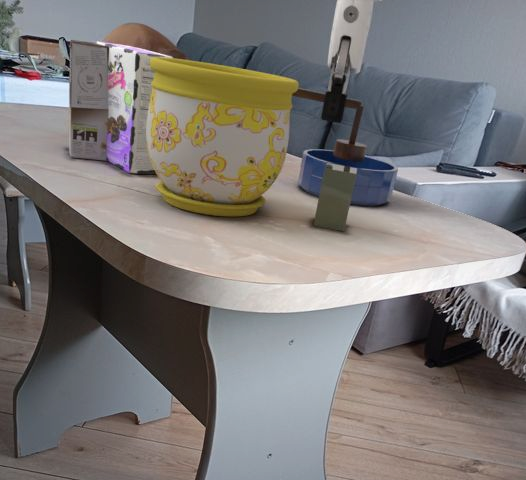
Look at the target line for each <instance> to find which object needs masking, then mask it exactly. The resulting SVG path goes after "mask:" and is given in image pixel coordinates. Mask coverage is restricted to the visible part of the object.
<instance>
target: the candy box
mask: <svg viewBox="0 0 526 480" xmlns="http://www.w3.org/2000/svg"><path fill="white" fill-rule="evenodd" d="M96 43H97V44H100V45H103V46H107V47H109V61H108V130H107V151H106V157H107V161H106V162H109V163H111V164H113V165H114V166H116V167H118V168H120V169H121V170H123V171H125V172H126V173H129V174H138V175H139V174H143V175H144V174H145V175H157V173H156V172H155V170H154V168H153V165H152V163H151V160H150V157H149V154H148V149H147V141H146V127H147V116H148V109H149V104H150V100H151V95H152V86H151V82H152V81H153V79H154V70H153V69H152V68H151V67H150V59H151V58H152V57H166V58H173V57H171V56H167V55H164V54H160V53H156V52H152V51H149V50H145V49H140V48H136V47H132V46H127V45H120V44H113V43H105V42H102V41H96Z"/></svg>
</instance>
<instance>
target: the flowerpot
mask: <svg viewBox="0 0 526 480" xmlns="http://www.w3.org/2000/svg"><path fill="white" fill-rule="evenodd" d="M150 67H151V68H152V69H153V70H154V79H153V81H152V82H151V86H152V95H151V100H150V104H149V109H148V116H147V127H146V141H147V149H148V154H149V157H150V160H151V163H152V165H153V168H154V170H155V172H156V173H157V174H156V175H157V177H158V178H159V179H160V181H159V182H157V183H156V185H155V188H156V190H157V191H158V192H159V193H160V194H161V196H162V199H163V200H164V201H165V202H166V203H167V204H169V205H170V206H173V207H175V208H178V209H181V210H184V211H188V212H191V213H195V214H201V215H206V216H214V217H228V218H229V217H230V218H231V217H235V218H236V217H246V216H250V215H253V214H254V213H255V214H256V212H257V211H258V210H259V208H260V207H262V206H264V205H265V204H266V198H265V197H264V196H263V195H264V194H265V193H266V192H267V191H268V190H269V189H270V188H271V187H272V186H273V184H274V183H275V182H276V180H277V178H278V177H279V175H280V174H281V171H282V170H283V166H284V164H285V161H286V157H287V153H288V146H289V141H290V121H291V120H290V119H291V118H290V115H291V110H292V108H293V107H294V105H293V103H292V97H293V96H292V94H293V93H294V92H296V91H297V90H298V88H299V85H300V83H299V82H298V80H296V79H293V78H289V77H286V76H281V75H277V74H271V73H268V72H267V73H266V72H262V71H256V70H251V69H246V68H240V67H234V66H229V65H223V64H216V63H209V62H203V61H196V60H190V59H189V60H183V59H175V58H166V57H152V58H151V59H150Z"/></svg>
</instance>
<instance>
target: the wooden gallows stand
mask: <svg viewBox="0 0 526 480" xmlns="http://www.w3.org/2000/svg"><path fill="white" fill-rule="evenodd" d="M325 94H326V92H325V93H324V92H319V91H314V90H311V89H306V88H302V87H301V88H300V87H298V90H297V91H296V92H294V93H293V94H292V97H296V98H300V99H306V100H310V101H314V102H315V101H316V102H320V103H324V99H325ZM345 108H347V109H348V108H349V109H353V110H355V115H354V118H353V122H352V127H351V132H350V136H349V139H341V138H338V139H336V140H335V144H334V148H333V151H334V153H333V156H335V157H337V158H340V159H343V160H348V161H353V162H364V158H365V156H366V153H367V149H368V145H366V144H364V143H362V142H357V138H358V133H359V128H360V125H361V120H362V116H363V112H364V108H365V106H364V105H362V100H358V99H353V98H348V97H347V98H346V102H345Z"/></svg>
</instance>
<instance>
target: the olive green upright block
mask: <svg viewBox="0 0 526 480" xmlns="http://www.w3.org/2000/svg"><path fill="white" fill-rule="evenodd" d="M356 174H357V168H352V167H347V166H341V165H336V164H330V163H327V164H326V166H325V169H324V174H323V179H322V184H321V189H320V195H319V197H318V201H317V206H316V211H315V214H314V215H315V216H314V222H313V227H318V228H324V229H329V230H334V231H339V232H345V229H346V225H347V220H348V217H349V211H350V206H351V204H350V202H351V197H352V193H353V188H354V183H355V179H356Z"/></svg>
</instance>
